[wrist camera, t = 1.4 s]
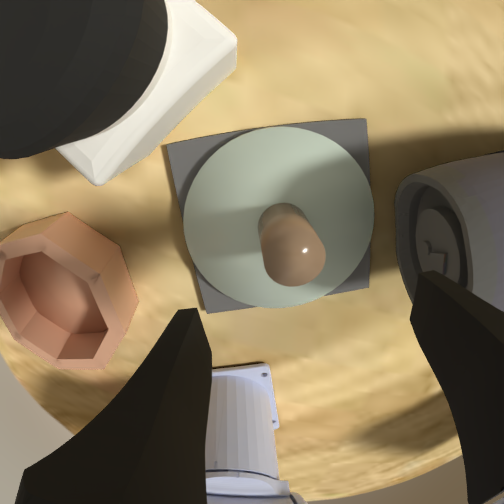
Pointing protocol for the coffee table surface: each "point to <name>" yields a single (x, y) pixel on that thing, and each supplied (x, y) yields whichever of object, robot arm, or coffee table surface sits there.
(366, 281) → the mat
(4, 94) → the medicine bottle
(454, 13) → the coffee table surface
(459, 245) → the bluetooth speaker
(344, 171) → the lid
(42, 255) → the bowl
